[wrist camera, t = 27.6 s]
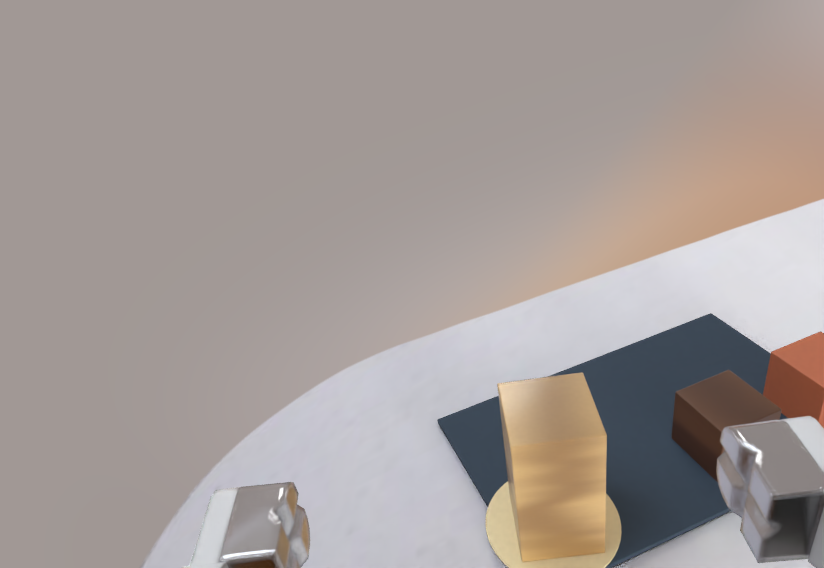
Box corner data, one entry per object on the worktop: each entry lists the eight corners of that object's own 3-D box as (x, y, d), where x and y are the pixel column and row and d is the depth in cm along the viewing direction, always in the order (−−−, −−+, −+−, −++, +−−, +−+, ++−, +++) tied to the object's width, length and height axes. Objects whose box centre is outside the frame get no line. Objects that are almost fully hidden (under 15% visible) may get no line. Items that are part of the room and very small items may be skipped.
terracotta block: (814, 438, 42) (826, 389, 40) (761, 398, 46) (770, 351, 44) (864, 415, 43) (880, 366, 41) (809, 377, 47) (820, 330, 45)
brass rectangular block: (522, 562, 38) (510, 447, 33) (509, 494, 42) (497, 382, 37) (605, 553, 38) (607, 435, 32) (584, 485, 42) (583, 371, 37)
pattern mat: (526, 612, 36) (525, 607, 36) (423, 428, 49) (422, 423, 49) (889, 438, 42) (891, 433, 42) (710, 316, 55) (711, 312, 55)
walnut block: (717, 482, 41) (724, 434, 38) (670, 437, 44) (674, 391, 42) (771, 457, 42) (782, 409, 39) (721, 415, 45) (729, 368, 43)
